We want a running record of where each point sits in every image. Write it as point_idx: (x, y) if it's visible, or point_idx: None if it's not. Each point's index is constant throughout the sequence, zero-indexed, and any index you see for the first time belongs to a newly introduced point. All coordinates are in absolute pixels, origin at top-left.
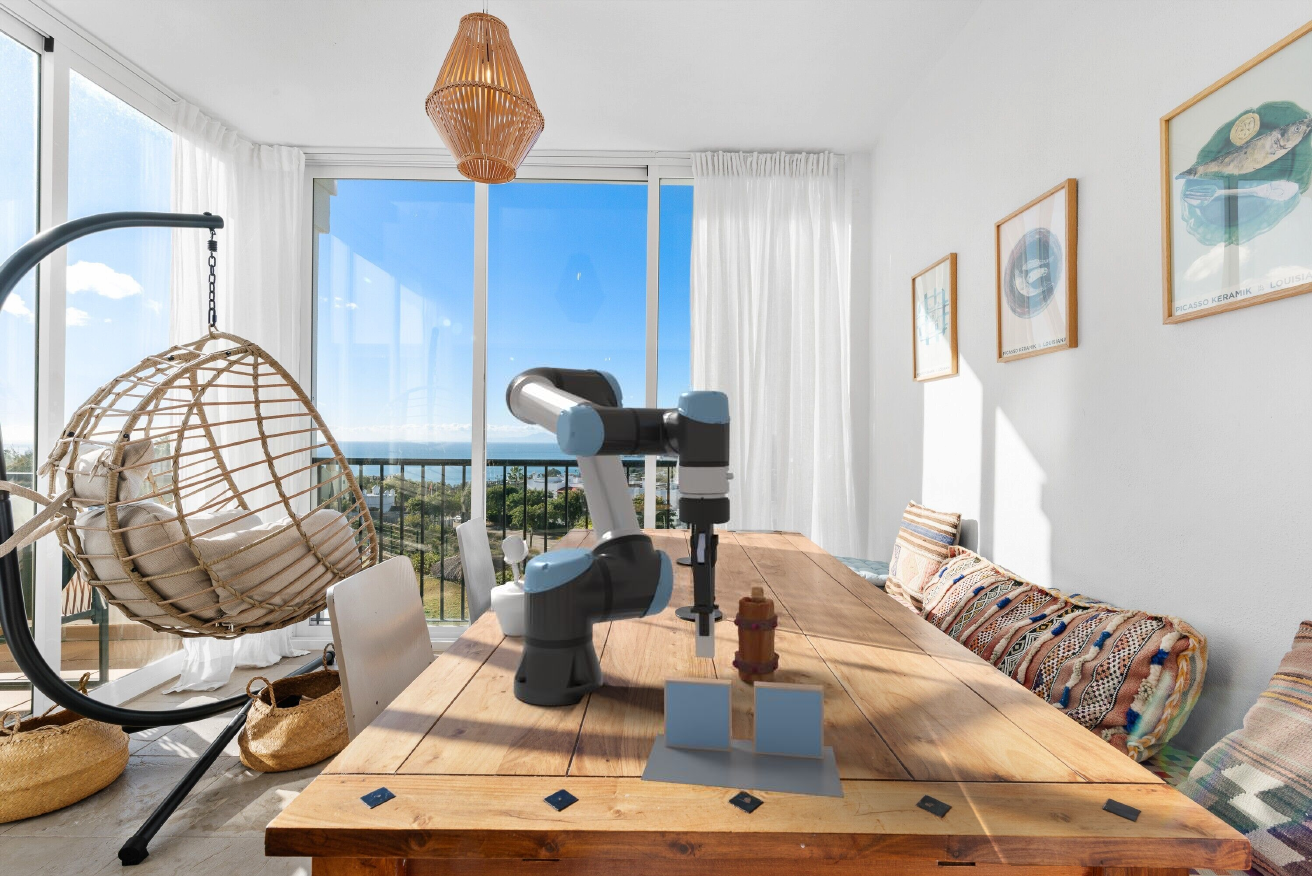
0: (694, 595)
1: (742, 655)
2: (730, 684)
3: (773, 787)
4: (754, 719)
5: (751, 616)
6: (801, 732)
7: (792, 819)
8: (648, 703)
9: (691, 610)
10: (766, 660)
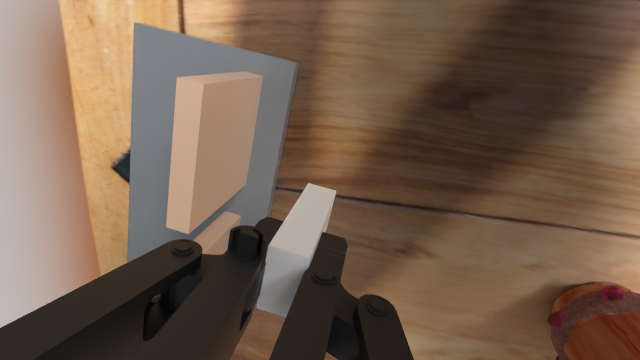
0: (105, 277)
1: (612, 321)
2: (167, 225)
3: (136, 209)
4: (198, 235)
5: None
6: None
7: (106, 210)
8: (500, 53)
9: (231, 232)
10: (569, 358)
